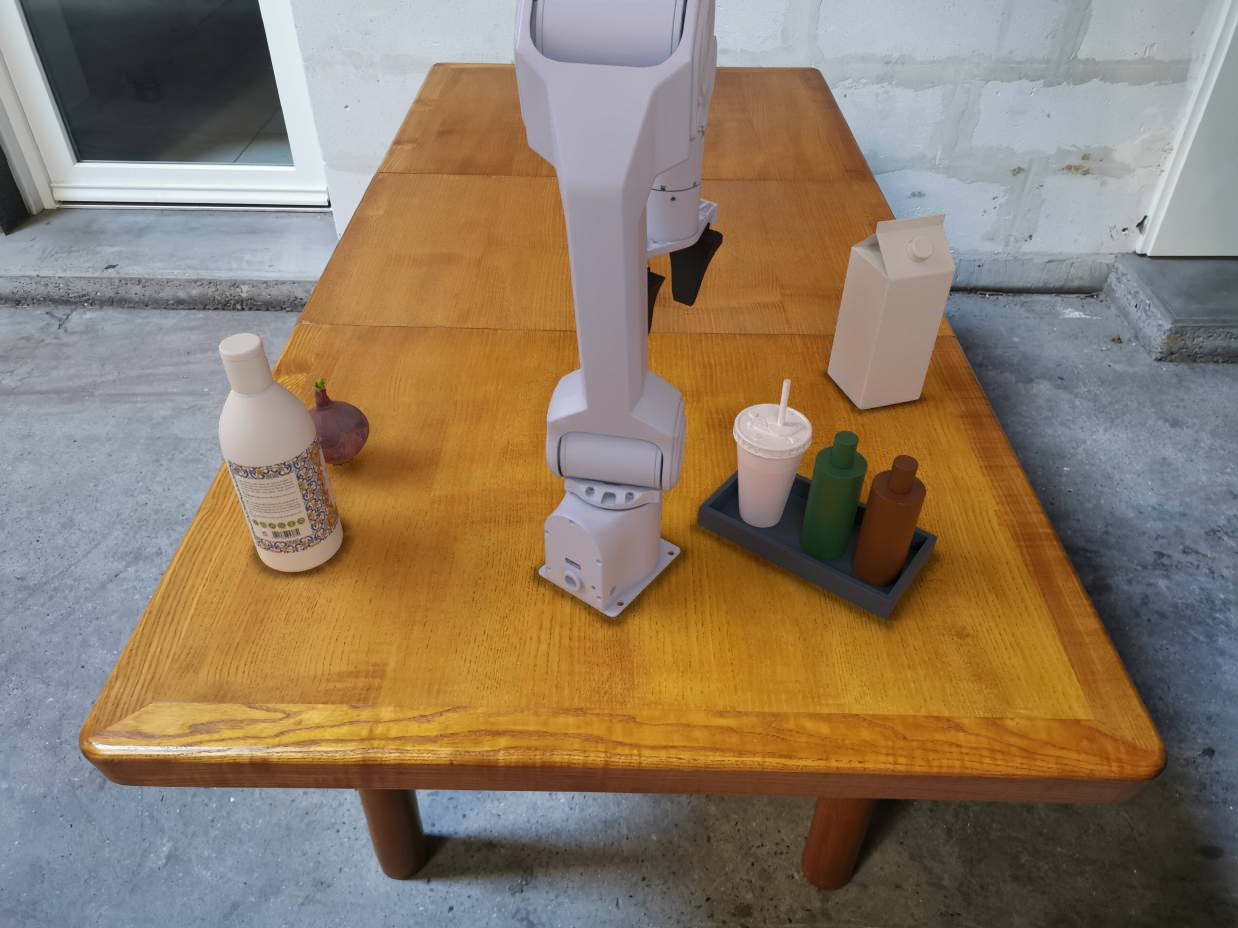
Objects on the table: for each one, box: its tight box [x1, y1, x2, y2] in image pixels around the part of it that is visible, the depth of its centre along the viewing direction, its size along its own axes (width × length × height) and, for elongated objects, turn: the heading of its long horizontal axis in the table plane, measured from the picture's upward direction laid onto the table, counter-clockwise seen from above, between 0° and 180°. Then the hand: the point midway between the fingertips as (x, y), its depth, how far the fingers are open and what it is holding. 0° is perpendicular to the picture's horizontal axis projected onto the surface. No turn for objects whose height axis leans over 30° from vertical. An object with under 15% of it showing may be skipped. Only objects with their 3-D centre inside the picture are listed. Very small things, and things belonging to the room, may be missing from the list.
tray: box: [697, 469, 938, 621], centre depth 75 cm, size 9×18×2 cm, turn 53°
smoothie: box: [732, 378, 813, 528], centre depth 73 cm, size 6×6×14 cm
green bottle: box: [800, 430, 869, 560], centre depth 71 cm, size 4×4×11 cm
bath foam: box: [218, 332, 344, 573], centre depth 68 cm, size 7×7×20 cm
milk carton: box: [827, 212, 956, 410], centre depth 88 cm, size 7×7×19 cm
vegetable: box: [308, 377, 370, 468], centre depth 80 cm, size 6×6×10 cm
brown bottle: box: [851, 454, 927, 586], centre depth 69 cm, size 4×4×11 cm
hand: (661, 318), depth 84 cm, fingers open, 7 cm apart
